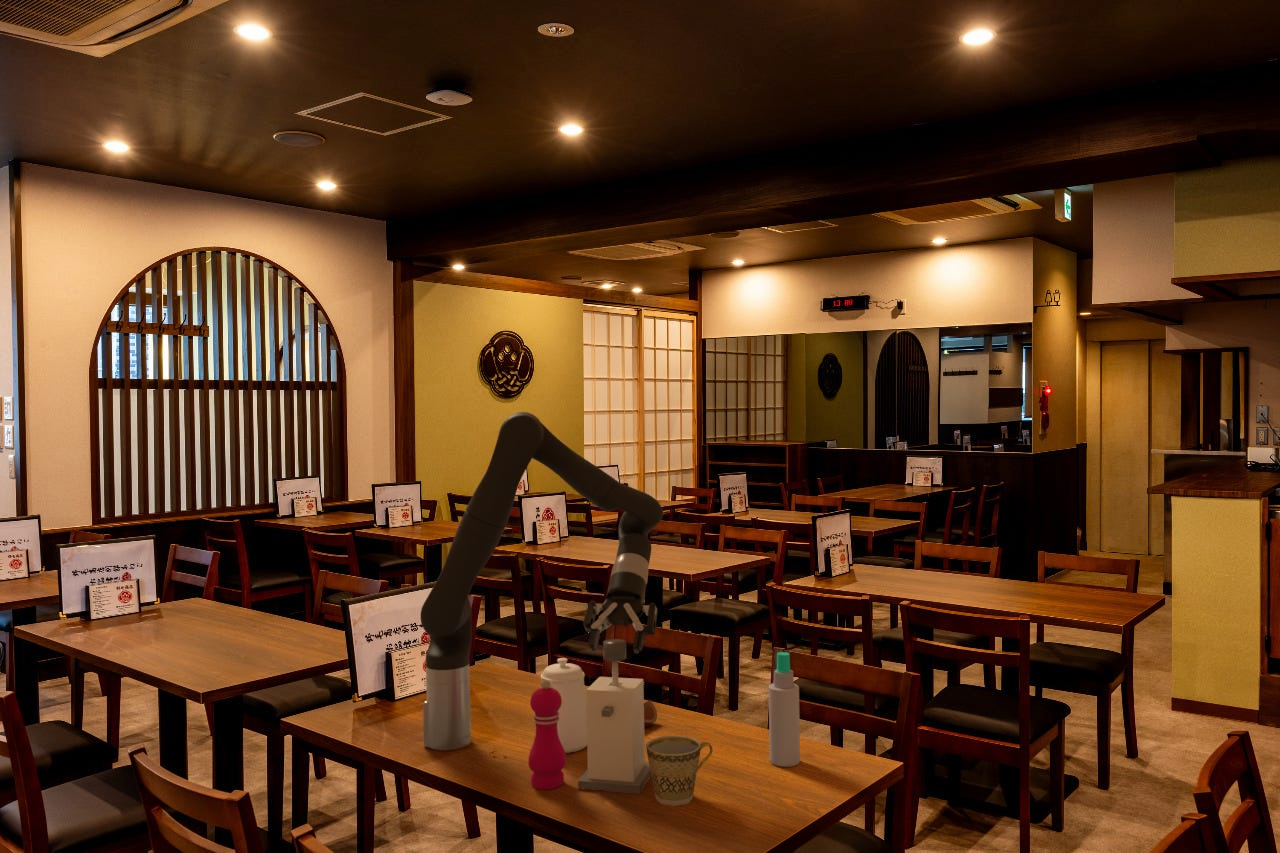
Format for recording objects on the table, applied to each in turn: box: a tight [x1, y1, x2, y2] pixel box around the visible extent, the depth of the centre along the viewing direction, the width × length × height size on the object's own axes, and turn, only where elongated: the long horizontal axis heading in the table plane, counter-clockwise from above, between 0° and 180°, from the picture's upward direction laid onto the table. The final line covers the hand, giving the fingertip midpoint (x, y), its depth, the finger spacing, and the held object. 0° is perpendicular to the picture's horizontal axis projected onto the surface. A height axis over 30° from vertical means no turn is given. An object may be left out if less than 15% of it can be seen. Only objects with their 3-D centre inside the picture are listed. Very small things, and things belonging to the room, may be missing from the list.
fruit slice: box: [644, 699, 658, 728], centre depth 214 cm, size 8×7×5 cm
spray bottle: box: [768, 651, 801, 768], centre depth 191 cm, size 6×6×22 cm
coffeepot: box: [540, 657, 587, 754], centre depth 202 cm, size 11×25×19 cm, turn 168°
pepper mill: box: [528, 680, 567, 790], centre depth 182 cm, size 7×7×20 cm
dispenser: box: [577, 676, 652, 795], centre depth 183 cm, size 12×13×18 cm
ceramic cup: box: [645, 735, 713, 807], centre depth 174 cm, size 13×10×10 cm
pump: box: [602, 638, 627, 686], centre depth 183 cm, size 4×4×21 cm
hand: (614, 650), depth 183 cm, fingers open, 8 cm apart
